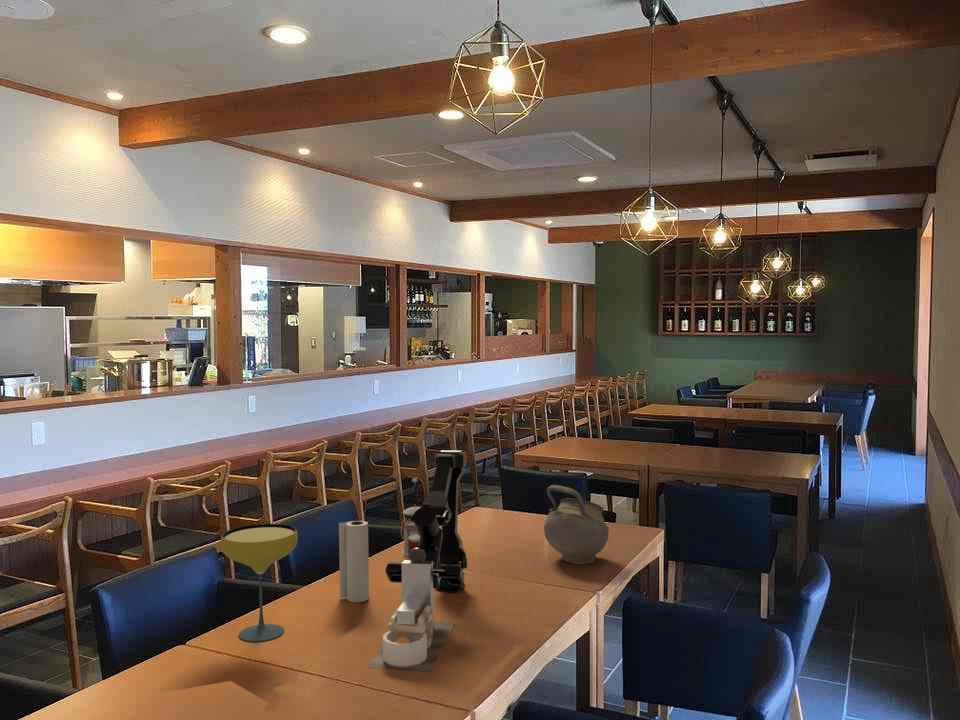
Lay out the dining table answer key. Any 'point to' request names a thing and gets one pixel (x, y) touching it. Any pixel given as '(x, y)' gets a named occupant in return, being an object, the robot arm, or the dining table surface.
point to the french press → (409, 525)
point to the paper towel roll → (354, 561)
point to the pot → (575, 527)
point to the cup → (404, 649)
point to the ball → (402, 640)
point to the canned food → (412, 542)
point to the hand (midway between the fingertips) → (419, 606)
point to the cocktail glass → (259, 563)
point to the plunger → (416, 587)
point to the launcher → (421, 626)
